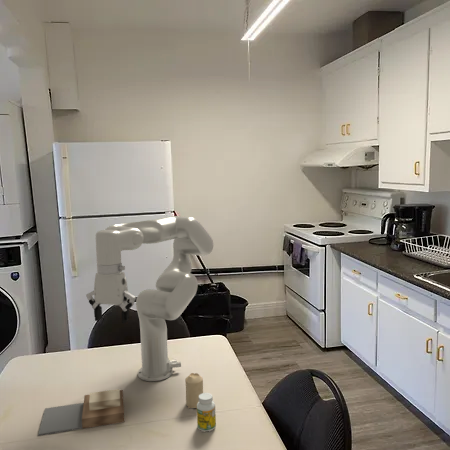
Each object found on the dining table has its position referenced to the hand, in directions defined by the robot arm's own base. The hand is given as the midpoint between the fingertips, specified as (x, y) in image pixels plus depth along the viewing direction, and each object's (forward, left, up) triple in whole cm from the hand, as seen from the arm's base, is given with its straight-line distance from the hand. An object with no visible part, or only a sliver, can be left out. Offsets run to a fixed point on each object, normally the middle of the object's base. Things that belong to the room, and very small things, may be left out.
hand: (111, 320), depth 140 cm
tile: (+3, +8, -22) cm, 24 cm away
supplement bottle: (-25, +24, -27) cm, 44 cm away
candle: (-24, +11, -27) cm, 38 cm away
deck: (+4, +8, -27) cm, 28 cm away
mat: (+16, +8, -27) cm, 32 cm away
